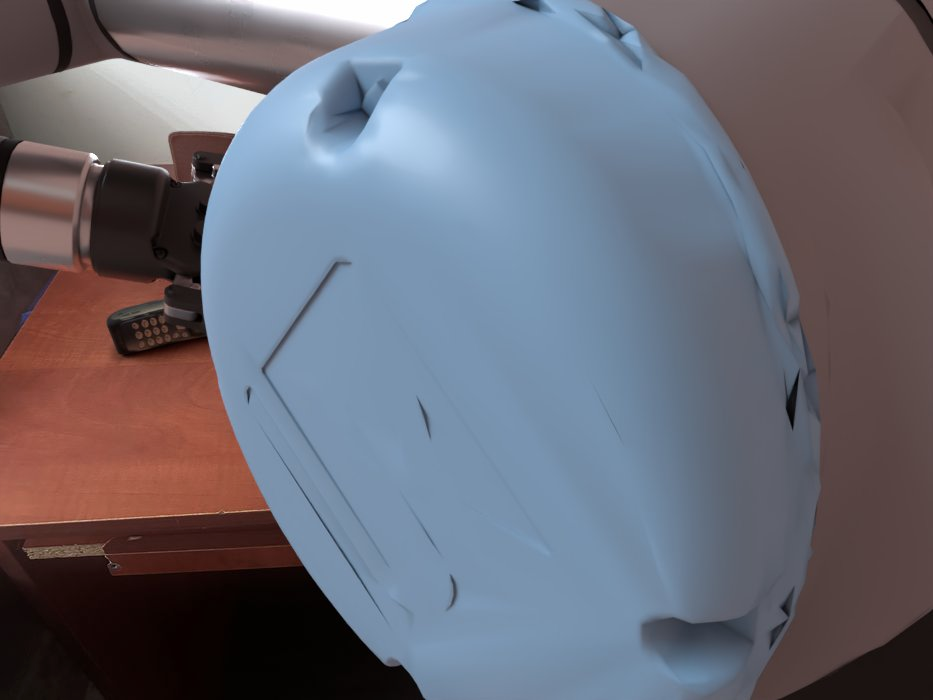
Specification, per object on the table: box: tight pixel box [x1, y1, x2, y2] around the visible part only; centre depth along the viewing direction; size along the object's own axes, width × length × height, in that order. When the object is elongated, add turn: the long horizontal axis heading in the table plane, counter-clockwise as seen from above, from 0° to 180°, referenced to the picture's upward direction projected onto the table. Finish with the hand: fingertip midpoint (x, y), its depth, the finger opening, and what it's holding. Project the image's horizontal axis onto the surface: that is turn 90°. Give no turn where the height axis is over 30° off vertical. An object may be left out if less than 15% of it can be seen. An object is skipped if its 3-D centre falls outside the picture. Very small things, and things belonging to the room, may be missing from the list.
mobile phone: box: [106, 298, 207, 355], centre depth 77 cm, size 5×3×15 cm
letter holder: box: [167, 130, 236, 182], centre depth 93 cm, size 10×20×14 cm, turn 76°
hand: (419, 272), depth 52 cm, fingers open, 13 cm apart
